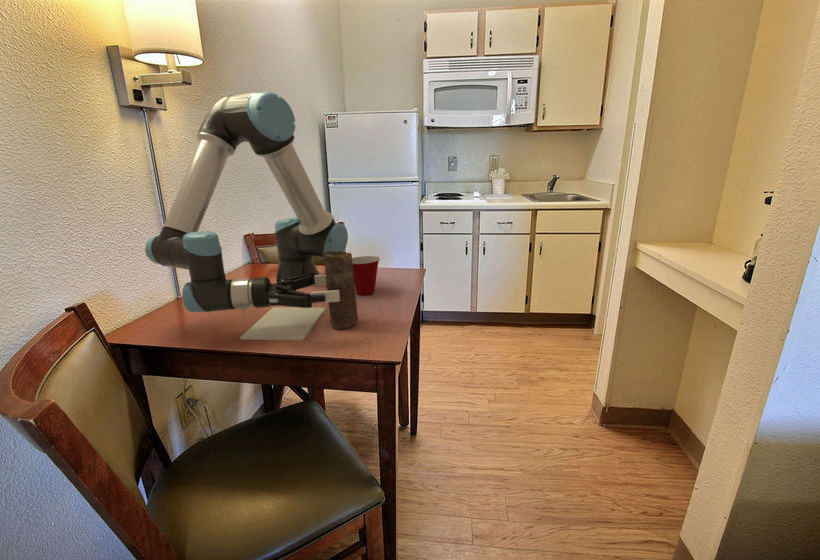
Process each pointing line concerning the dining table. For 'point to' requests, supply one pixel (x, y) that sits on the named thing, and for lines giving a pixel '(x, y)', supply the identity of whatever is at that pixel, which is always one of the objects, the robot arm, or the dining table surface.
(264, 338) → the mat
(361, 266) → the plastic cup
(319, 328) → the dining table surface
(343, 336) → the dining table surface
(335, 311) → the brown rough cylinder
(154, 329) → the dining table surface
